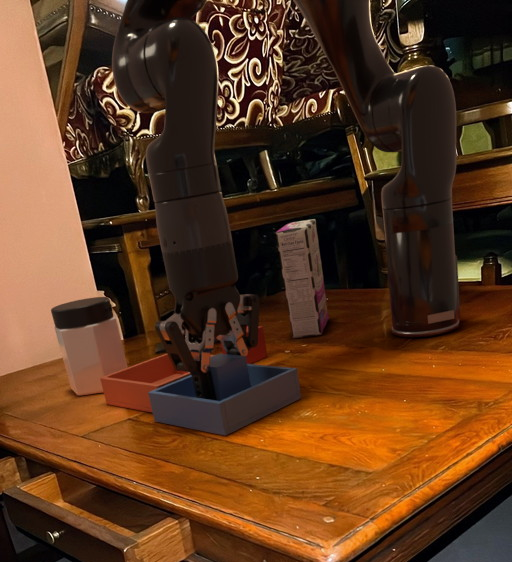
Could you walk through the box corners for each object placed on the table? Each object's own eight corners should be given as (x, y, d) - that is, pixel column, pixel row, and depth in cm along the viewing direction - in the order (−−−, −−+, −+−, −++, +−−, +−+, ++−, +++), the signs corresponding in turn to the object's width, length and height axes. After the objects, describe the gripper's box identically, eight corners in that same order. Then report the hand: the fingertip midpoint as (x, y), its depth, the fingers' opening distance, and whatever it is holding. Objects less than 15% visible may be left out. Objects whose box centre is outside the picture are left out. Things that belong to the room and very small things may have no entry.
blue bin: (229, 388, 88) (224, 361, 87) (301, 398, 80) (297, 368, 78) (154, 421, 80) (147, 392, 79) (225, 436, 72) (219, 403, 71)
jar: (136, 384, 98) (117, 299, 93) (80, 399, 95) (57, 313, 90) (120, 373, 105) (101, 294, 101) (67, 387, 102) (45, 306, 98)
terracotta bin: (177, 376, 98) (172, 351, 97) (236, 383, 90) (231, 356, 88) (106, 404, 91) (99, 377, 89) (163, 414, 82) (157, 386, 81)
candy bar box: (300, 323, 118) (286, 223, 112) (329, 319, 117) (317, 218, 110) (290, 339, 108) (274, 230, 102) (322, 335, 107) (307, 225, 100)
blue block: (225, 390, 82) (219, 353, 81) (252, 393, 79) (246, 355, 78) (197, 402, 80) (190, 364, 78) (224, 406, 76) (216, 367, 75)
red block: (246, 355, 103) (241, 325, 101) (267, 356, 100) (262, 326, 98) (224, 363, 100) (218, 333, 99) (246, 365, 97) (240, 334, 96)
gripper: (166, 253, 66) (200, 421, 72) (267, 228, 75) (290, 379, 81) (121, 257, 71) (156, 413, 78) (221, 233, 80) (245, 374, 86)
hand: (224, 395), depth 79 cm, fingers closed on blue block, 4 cm apart
